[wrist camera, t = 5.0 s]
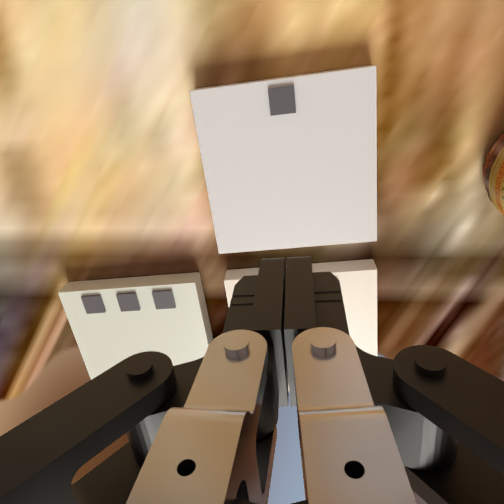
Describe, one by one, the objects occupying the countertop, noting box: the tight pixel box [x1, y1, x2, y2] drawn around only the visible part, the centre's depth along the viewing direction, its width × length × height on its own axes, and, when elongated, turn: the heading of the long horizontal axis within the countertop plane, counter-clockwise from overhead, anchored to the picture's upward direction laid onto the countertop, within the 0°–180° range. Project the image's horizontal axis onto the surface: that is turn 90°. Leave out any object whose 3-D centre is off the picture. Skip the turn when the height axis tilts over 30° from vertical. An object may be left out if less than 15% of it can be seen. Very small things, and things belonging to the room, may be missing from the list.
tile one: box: [189, 65, 377, 254], centre depth 25 cm, size 10×10×2 cm
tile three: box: [58, 272, 213, 380], centre depth 32 cm, size 10×10×2 cm
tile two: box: [224, 259, 377, 391], centre depth 30 cm, size 10×10×2 cm
